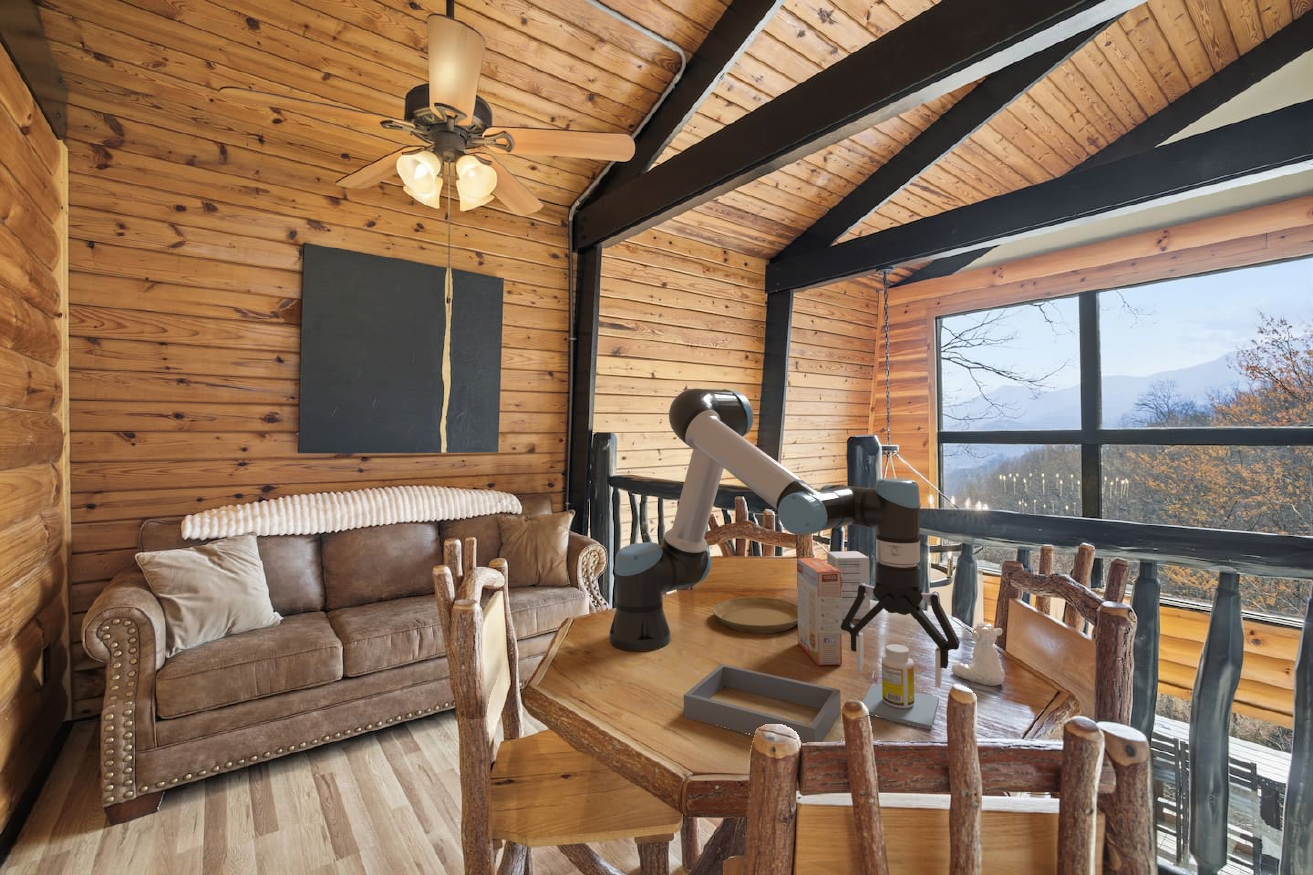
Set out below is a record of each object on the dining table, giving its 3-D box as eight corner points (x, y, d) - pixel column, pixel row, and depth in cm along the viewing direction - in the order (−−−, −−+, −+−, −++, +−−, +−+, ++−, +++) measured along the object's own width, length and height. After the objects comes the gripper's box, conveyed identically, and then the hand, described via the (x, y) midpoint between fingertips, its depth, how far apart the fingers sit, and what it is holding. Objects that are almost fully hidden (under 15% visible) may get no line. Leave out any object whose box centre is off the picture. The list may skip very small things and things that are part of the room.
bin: (683, 716, 105) (683, 694, 104) (721, 683, 118) (721, 663, 118) (815, 753, 92) (815, 729, 92) (840, 711, 106) (840, 689, 105)
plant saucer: (721, 639, 144) (721, 625, 144) (707, 609, 168) (707, 597, 168) (816, 635, 145) (816, 622, 145) (789, 606, 169) (789, 595, 169)
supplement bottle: (906, 695, 110) (906, 642, 109) (919, 709, 104) (919, 653, 104) (877, 695, 110) (876, 642, 110) (888, 710, 104) (888, 653, 104)
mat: (858, 713, 105) (858, 708, 105) (872, 687, 115) (872, 683, 115) (931, 730, 98) (931, 725, 98) (938, 701, 109) (938, 697, 109)
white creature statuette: (990, 669, 123) (990, 613, 123) (1021, 687, 114) (1021, 627, 114) (949, 672, 121) (949, 616, 121) (978, 690, 113) (977, 630, 113)
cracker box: (844, 665, 126) (842, 570, 126) (817, 667, 125) (815, 571, 125) (821, 642, 140) (820, 556, 140) (797, 643, 139) (796, 557, 139)
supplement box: (871, 619, 155) (870, 557, 155) (837, 620, 156) (836, 558, 155) (859, 608, 165) (858, 550, 165) (827, 609, 165) (826, 550, 165)
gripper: (824, 558, 110) (824, 669, 110) (973, 575, 97) (973, 700, 97) (834, 551, 116) (835, 655, 117) (975, 566, 103) (975, 683, 104)
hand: (897, 676), depth 107 cm, fingers open, 13 cm apart
